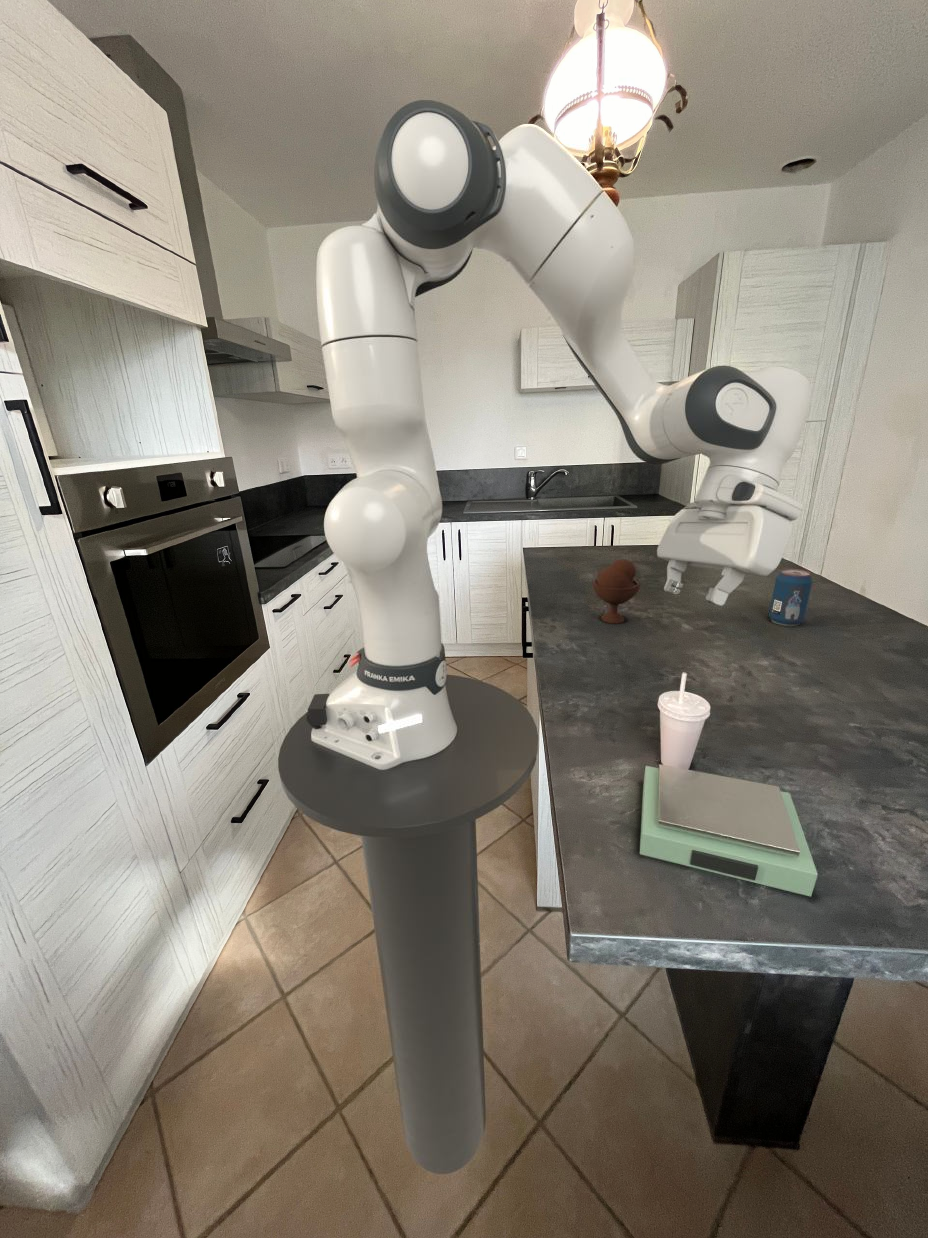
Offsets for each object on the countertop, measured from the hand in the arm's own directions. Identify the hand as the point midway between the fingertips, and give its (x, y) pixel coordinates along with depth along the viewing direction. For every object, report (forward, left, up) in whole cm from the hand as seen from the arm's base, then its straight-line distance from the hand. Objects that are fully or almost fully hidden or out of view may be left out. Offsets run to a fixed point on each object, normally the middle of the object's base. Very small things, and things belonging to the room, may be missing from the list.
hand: (690, 597), depth 66 cm
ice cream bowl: (-13, +47, -22) cm, 53 cm away
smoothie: (0, -7, -22) cm, 23 cm away
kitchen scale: (+4, -19, -22) cm, 29 cm away
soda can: (+25, +56, -22) cm, 65 cm away
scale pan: (+4, -19, -18) cm, 27 cm away
